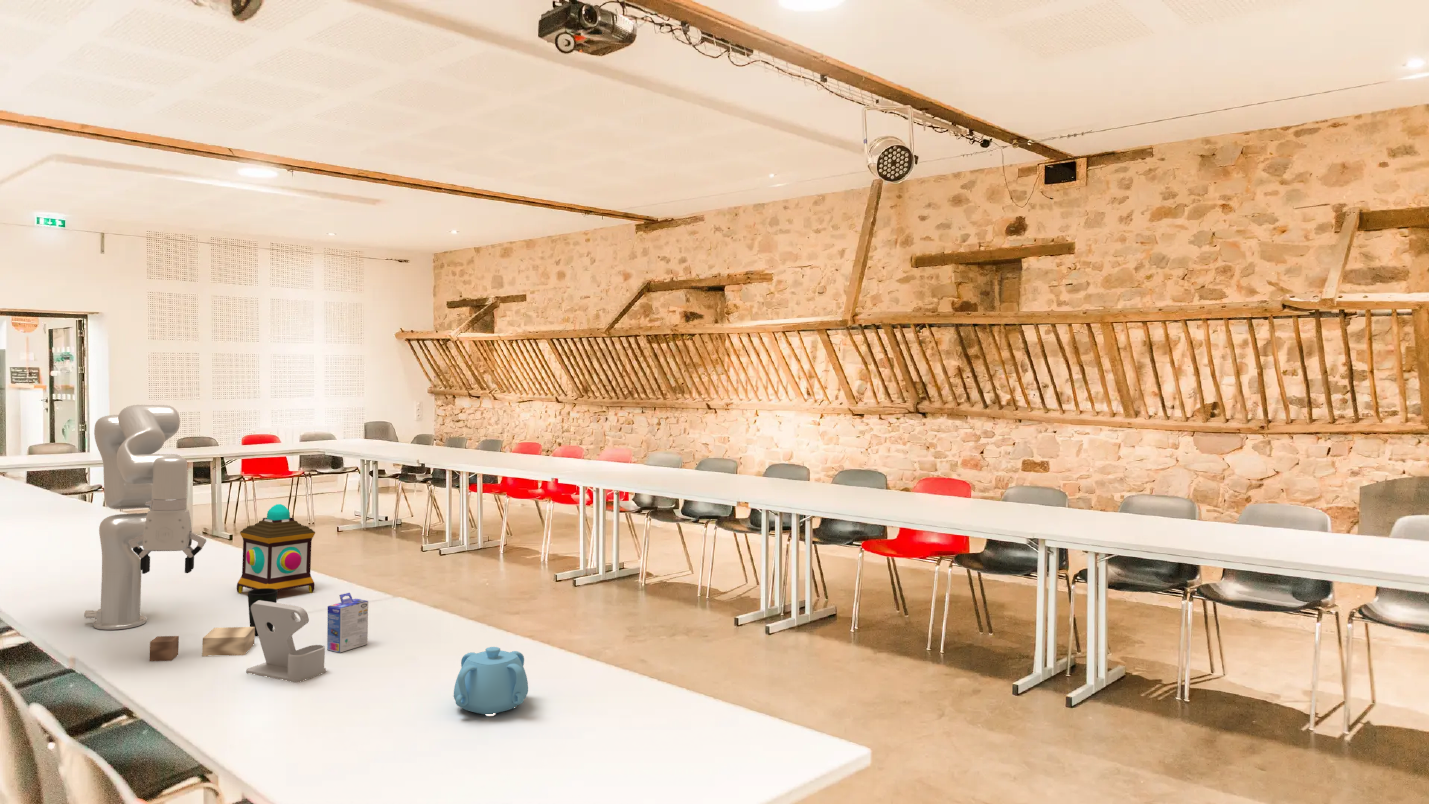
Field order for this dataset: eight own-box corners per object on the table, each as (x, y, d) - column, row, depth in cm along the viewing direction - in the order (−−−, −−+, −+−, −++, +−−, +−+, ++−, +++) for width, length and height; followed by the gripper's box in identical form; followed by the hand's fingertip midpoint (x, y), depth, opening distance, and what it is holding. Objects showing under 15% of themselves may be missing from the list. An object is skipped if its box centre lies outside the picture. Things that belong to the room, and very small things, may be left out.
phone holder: (329, 671, 223) (332, 599, 223) (298, 683, 213) (301, 608, 213) (275, 661, 229) (278, 591, 228) (242, 673, 219) (245, 600, 219)
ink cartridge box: (353, 641, 249) (355, 589, 249) (368, 644, 246) (370, 592, 246) (324, 650, 240) (326, 596, 240) (340, 653, 237) (341, 599, 237)
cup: (263, 638, 248) (265, 595, 248) (239, 635, 249) (241, 593, 249) (282, 631, 255) (283, 589, 255) (259, 628, 257) (260, 587, 257)
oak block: (202, 657, 230) (202, 638, 230) (213, 646, 240) (214, 627, 240) (244, 656, 233) (245, 637, 233) (254, 645, 243) (254, 626, 242)
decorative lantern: (320, 592, 302) (323, 504, 302) (264, 603, 286) (267, 509, 285) (286, 583, 313) (289, 498, 313) (229, 593, 296) (233, 503, 296)
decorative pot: (522, 721, 196) (525, 659, 195) (447, 720, 194) (450, 658, 194) (530, 695, 212) (532, 638, 212) (460, 695, 210) (463, 637, 210)
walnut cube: (149, 661, 225) (149, 641, 225) (156, 655, 230) (157, 636, 229) (171, 661, 226) (172, 641, 226) (178, 655, 231) (178, 635, 231)
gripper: (124, 507, 221) (122, 576, 221) (202, 507, 226) (200, 575, 226) (136, 503, 229) (134, 570, 229) (211, 503, 233) (209, 569, 233)
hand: (167, 572), depth 227 cm, fingers open, 9 cm apart
